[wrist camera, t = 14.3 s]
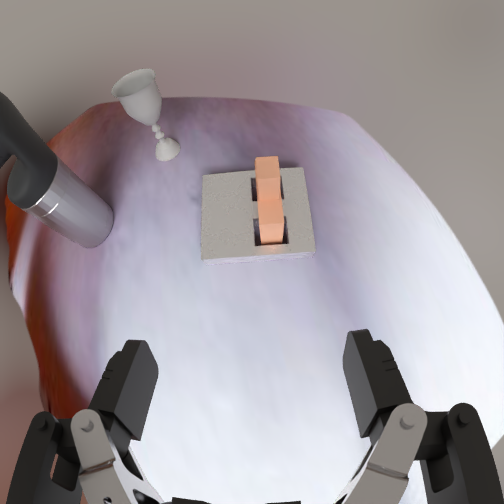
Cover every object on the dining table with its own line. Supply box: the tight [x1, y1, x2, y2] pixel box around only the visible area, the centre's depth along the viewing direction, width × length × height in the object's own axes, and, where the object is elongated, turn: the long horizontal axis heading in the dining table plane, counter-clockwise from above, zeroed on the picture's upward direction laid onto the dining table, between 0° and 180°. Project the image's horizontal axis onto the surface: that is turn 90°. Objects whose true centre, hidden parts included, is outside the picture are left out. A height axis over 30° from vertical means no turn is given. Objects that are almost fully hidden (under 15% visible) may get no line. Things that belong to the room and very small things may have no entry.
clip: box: [255, 156, 284, 246], centre depth 36 cm, size 3×10×14 cm, turn 3°
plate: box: [201, 167, 316, 265], centre depth 42 cm, size 16×14×3 cm
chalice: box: [111, 69, 180, 161], centre depth 40 cm, size 7×7×18 cm
